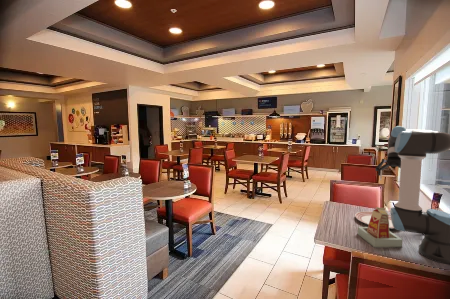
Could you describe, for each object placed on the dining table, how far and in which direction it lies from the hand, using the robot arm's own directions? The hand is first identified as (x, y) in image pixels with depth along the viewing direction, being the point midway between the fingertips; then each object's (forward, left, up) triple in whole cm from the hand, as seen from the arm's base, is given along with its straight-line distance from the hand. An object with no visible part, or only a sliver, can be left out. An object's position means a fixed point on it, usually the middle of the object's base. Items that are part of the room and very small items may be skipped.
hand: (393, 180), depth 147 cm
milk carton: (-16, +19, -31) cm, 40 cm away
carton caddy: (-16, +19, -32) cm, 40 cm away
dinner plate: (+8, +3, -32) cm, 33 cm away
